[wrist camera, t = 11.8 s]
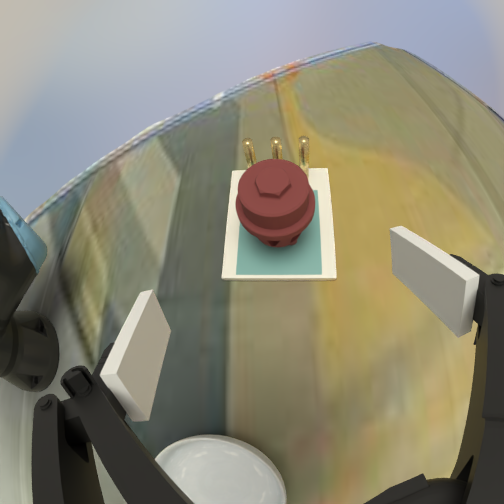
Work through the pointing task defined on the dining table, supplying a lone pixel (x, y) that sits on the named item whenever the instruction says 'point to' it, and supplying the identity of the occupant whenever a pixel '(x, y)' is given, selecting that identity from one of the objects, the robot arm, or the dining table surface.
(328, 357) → the dining table surface
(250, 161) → the pin
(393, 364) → the dining table surface
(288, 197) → the mechanical component
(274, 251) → the header board
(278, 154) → the pin
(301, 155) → the pin
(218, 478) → the cereal bowl
